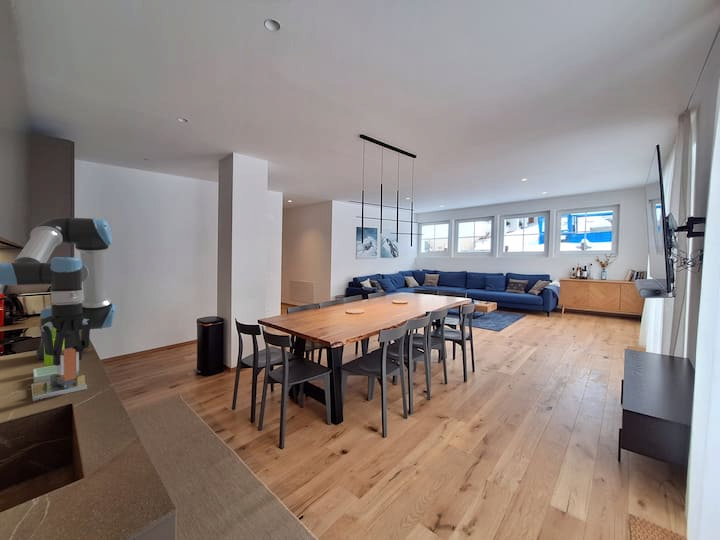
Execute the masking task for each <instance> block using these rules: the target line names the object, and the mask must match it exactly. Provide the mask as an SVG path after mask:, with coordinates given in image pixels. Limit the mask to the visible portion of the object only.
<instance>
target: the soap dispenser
mask: <svg viewBox="0 0 720 540" xmlns="http://www.w3.org/2000/svg"><path fill="white" fill-rule="evenodd" d="M48 323H50V322H48ZM48 323H46V324H48ZM46 324H44V325H46ZM51 333H52V340H53V347H54V342H55V337H56V329H55V328H54V327H53V326H52V330H51ZM62 349H65V347H64V341H63V346H62ZM43 361H44V362H43V364H44V366H43V367H48V366H54V364H53V356H52V355H46V354H45V349H44V359H43Z"/></svg>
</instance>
